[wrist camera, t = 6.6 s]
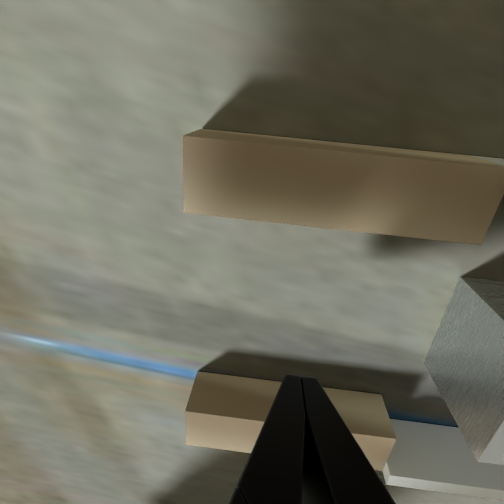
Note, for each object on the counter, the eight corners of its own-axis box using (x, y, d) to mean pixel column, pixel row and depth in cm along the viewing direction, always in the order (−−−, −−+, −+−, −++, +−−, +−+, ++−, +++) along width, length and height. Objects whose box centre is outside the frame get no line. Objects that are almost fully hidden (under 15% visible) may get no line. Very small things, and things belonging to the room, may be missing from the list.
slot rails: (370, 425, 15) (382, 470, 13) (196, 402, 15) (185, 444, 13) (469, 155, 9) (514, 169, 8) (201, 128, 10) (183, 135, 8)
